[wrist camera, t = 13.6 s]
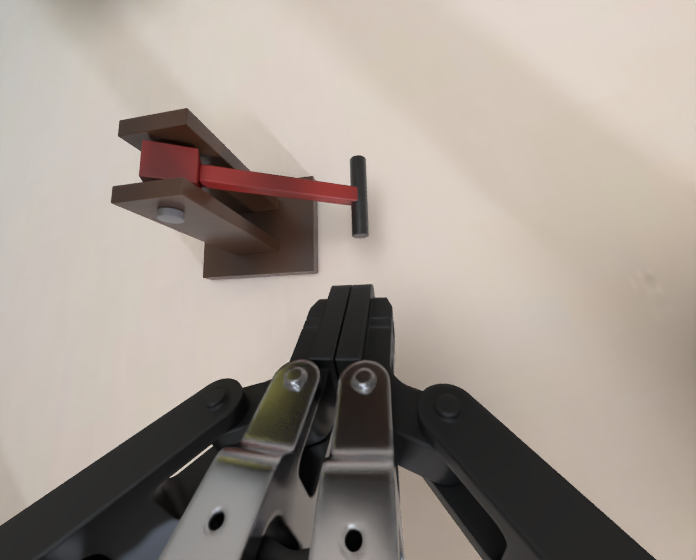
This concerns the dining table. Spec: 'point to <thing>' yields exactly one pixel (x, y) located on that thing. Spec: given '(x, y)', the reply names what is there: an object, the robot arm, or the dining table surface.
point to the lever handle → (256, 180)
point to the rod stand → (220, 207)
